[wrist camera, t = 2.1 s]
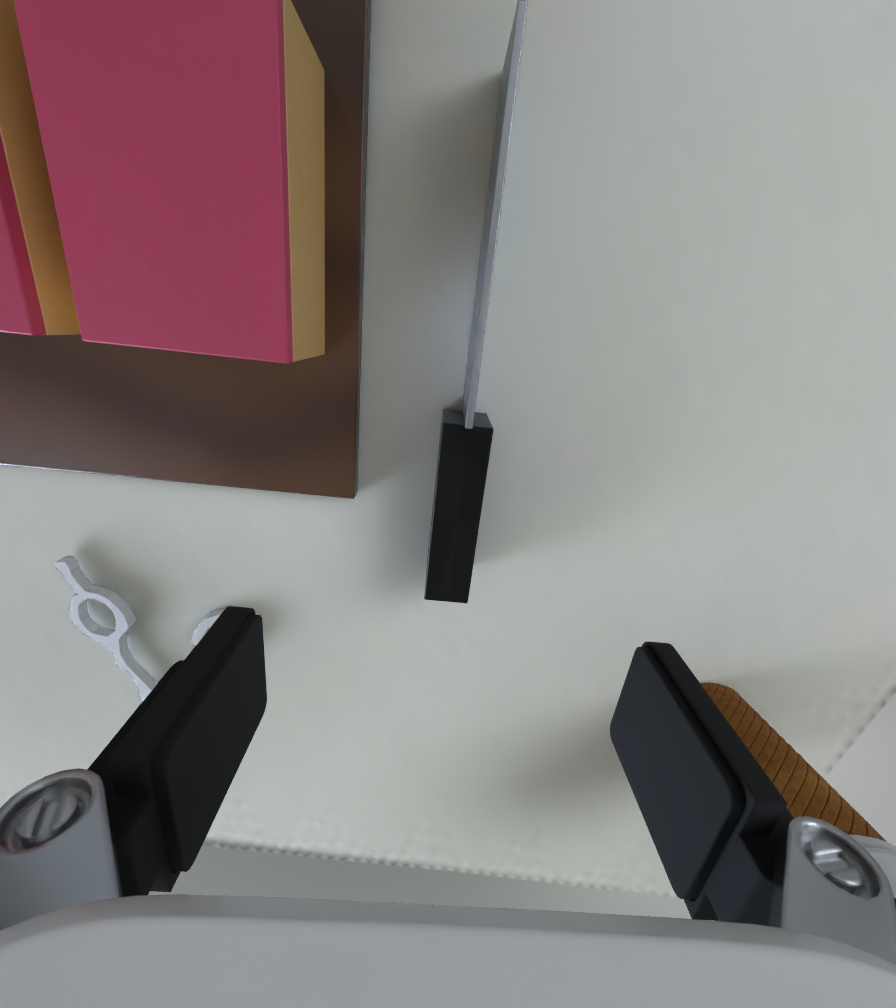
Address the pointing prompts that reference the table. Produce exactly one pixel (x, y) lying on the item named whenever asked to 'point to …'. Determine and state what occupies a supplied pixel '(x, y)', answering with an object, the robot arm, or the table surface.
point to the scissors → (124, 621)
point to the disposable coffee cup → (799, 778)
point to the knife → (472, 385)
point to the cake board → (217, 379)
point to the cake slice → (27, 207)
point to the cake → (185, 170)
